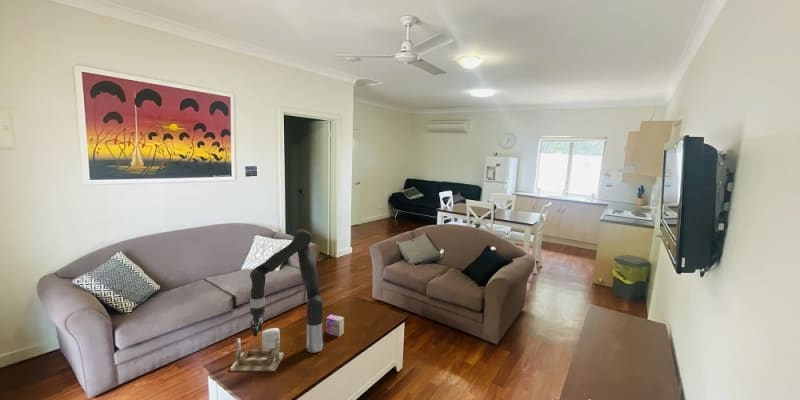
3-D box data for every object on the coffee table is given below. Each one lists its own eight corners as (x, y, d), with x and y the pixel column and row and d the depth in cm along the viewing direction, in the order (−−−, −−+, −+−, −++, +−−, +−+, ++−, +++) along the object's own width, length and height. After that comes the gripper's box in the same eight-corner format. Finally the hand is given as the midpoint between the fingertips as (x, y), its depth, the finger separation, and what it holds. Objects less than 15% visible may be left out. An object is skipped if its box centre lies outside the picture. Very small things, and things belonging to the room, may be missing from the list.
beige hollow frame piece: (283, 354, 194) (283, 332, 192) (275, 370, 179) (275, 346, 177) (242, 354, 192) (241, 332, 191) (230, 370, 177) (229, 346, 176)
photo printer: (279, 344, 204) (279, 325, 203) (280, 348, 201) (279, 329, 199) (261, 347, 200) (261, 328, 199) (261, 351, 196) (261, 332, 195)
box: (326, 334, 219) (326, 317, 217) (330, 330, 224) (331, 314, 223) (339, 337, 215) (339, 320, 214) (343, 333, 220) (344, 317, 219)
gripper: (259, 310, 175) (259, 340, 177) (268, 299, 189) (268, 327, 191) (245, 310, 174) (245, 340, 176) (255, 299, 189) (255, 326, 191)
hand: (257, 333), depth 184 cm, fingers open, 5 cm apart
